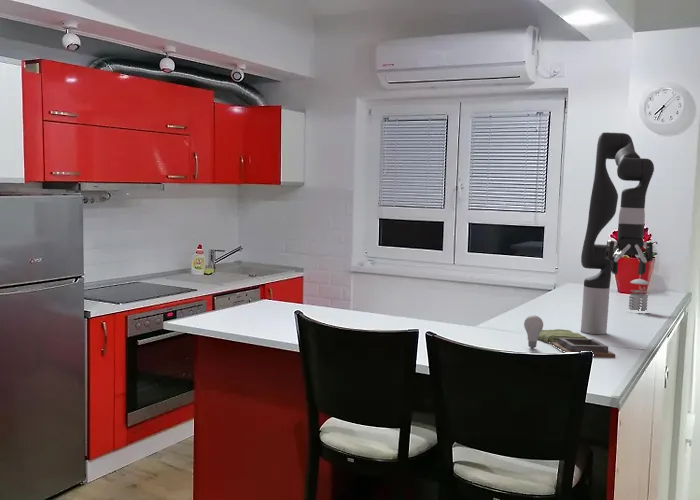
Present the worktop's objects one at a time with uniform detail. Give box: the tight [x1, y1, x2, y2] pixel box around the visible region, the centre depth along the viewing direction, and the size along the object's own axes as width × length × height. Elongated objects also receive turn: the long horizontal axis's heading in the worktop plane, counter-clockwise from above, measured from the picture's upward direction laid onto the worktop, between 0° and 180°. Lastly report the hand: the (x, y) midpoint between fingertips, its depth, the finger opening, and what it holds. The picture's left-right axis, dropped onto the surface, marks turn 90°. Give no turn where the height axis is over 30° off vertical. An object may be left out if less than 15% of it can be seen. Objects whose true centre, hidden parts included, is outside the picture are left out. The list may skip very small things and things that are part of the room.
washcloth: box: [538, 328, 589, 344], centre depth 245 cm, size 13×18×3 cm
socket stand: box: [550, 338, 616, 358], centre depth 226 cm, size 16×15×3 cm
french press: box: [628, 278, 650, 311], centre depth 316 cm, size 10×12×25 cm
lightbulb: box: [523, 314, 544, 349], centre depth 227 cm, size 6×6×11 cm
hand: (627, 274), depth 217 cm, fingers open, 8 cm apart
